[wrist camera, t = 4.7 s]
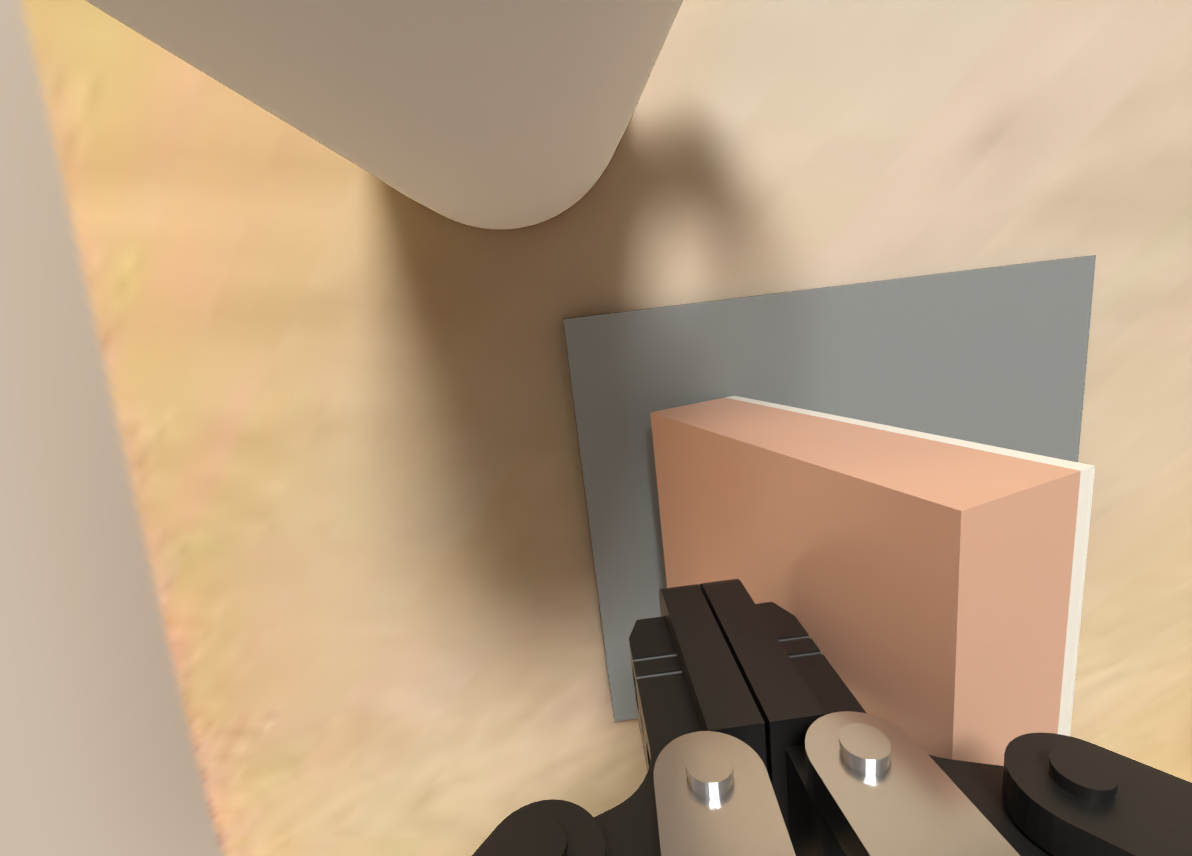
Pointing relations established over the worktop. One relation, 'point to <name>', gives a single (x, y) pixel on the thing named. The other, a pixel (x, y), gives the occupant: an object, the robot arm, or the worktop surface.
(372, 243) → the worktop surface
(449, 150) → the mug
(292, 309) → the worktop surface
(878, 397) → the mat
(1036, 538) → the tile
